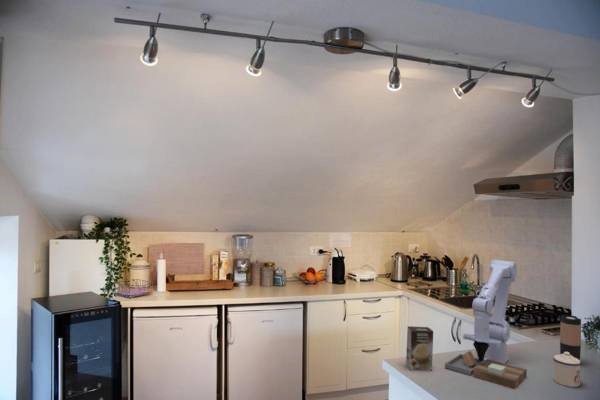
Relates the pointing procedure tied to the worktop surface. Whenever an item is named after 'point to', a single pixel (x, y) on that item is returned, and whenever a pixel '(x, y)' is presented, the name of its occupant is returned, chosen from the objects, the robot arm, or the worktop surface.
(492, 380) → the walnut plate
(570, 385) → the cream lidded canister
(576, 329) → the travel mug
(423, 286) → the worktop surface
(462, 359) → the box
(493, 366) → the sage tile
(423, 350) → the coffee box
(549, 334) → the worktop surface
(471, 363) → the terracotta tile
